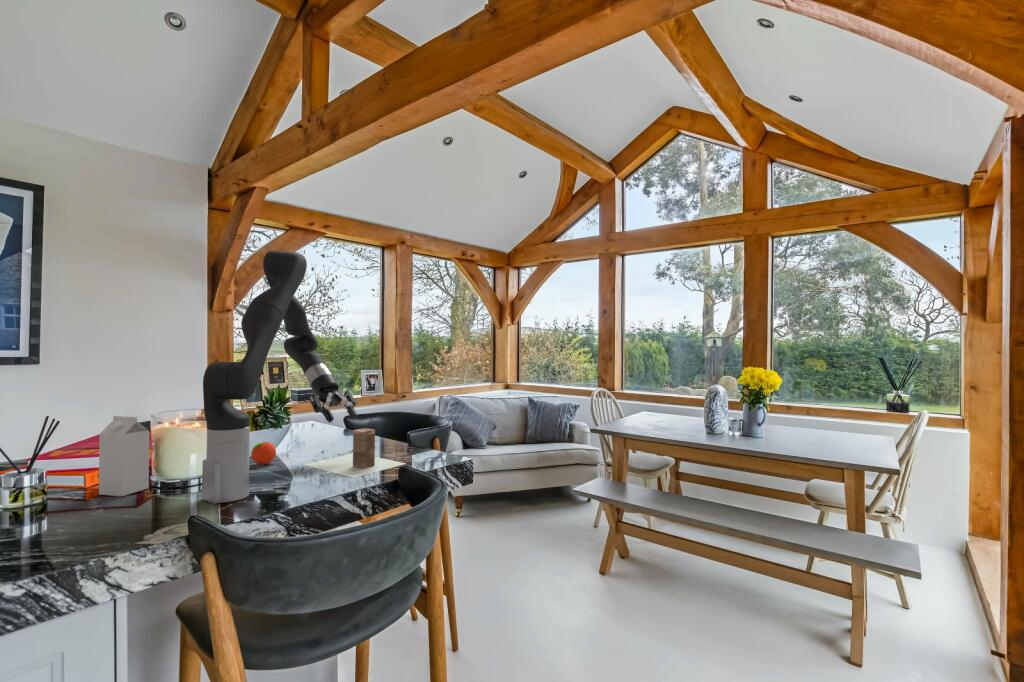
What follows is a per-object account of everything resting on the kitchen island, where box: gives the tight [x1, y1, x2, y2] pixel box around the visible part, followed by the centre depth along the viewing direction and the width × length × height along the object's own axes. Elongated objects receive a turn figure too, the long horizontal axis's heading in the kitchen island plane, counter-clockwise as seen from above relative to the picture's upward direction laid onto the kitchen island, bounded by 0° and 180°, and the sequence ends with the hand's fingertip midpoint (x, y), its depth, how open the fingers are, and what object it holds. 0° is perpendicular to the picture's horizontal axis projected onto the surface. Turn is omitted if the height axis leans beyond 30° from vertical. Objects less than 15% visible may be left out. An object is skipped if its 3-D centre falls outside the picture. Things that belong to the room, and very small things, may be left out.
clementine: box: [250, 441, 277, 466], centre depth 154 cm, size 8×7×7 cm
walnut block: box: [352, 427, 376, 469], centre depth 151 cm, size 4×4×11 cm
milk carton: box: [98, 415, 150, 497], centre depth 125 cm, size 7×7×19 cm
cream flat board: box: [303, 453, 407, 479], centre depth 153 cm, size 20×24×1 cm
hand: (343, 419), depth 157 cm, fingers open, 8 cm apart
